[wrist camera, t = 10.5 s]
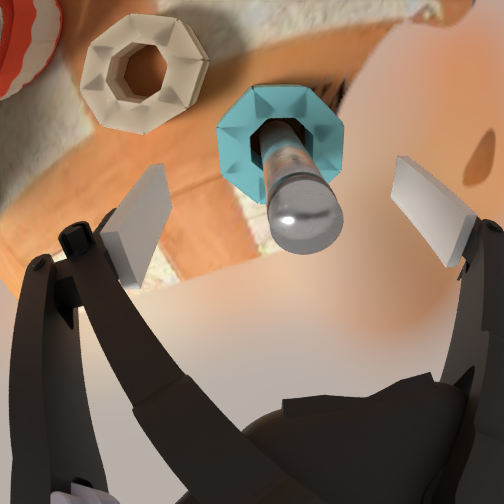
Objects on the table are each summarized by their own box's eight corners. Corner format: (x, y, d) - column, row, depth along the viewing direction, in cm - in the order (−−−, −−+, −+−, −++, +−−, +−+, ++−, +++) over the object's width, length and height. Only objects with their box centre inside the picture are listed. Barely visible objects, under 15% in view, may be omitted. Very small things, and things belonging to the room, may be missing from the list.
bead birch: (134, 140, 22) (118, 152, 19) (86, 63, 17) (65, 66, 14) (225, 87, 20) (221, 91, 17) (174, 2, 14) (162, -8, 12)
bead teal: (227, 188, 25) (224, 206, 22) (218, 87, 20) (212, 90, 17) (328, 184, 25) (338, 202, 22) (331, 85, 19) (345, 89, 16)
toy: (55, 101, 19) (0, 124, 12) (-5, 93, 16) (-55, 114, 10) (94, -19, 12) (42, -35, 5) (22, -11, 9) (-29, -12, 3)
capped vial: (259, 155, 23) (269, 257, 12) (257, 120, 21) (267, 190, 10) (295, 154, 23) (339, 253, 12) (295, 120, 21) (348, 188, 10)
